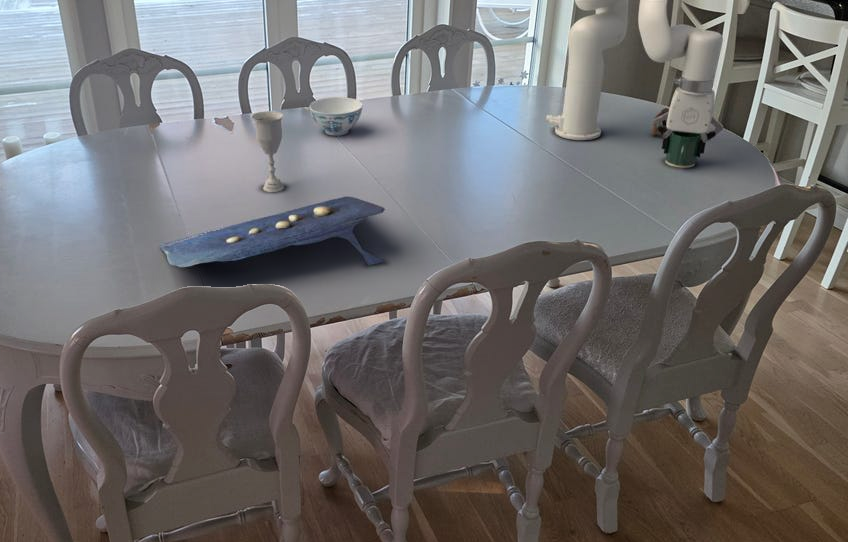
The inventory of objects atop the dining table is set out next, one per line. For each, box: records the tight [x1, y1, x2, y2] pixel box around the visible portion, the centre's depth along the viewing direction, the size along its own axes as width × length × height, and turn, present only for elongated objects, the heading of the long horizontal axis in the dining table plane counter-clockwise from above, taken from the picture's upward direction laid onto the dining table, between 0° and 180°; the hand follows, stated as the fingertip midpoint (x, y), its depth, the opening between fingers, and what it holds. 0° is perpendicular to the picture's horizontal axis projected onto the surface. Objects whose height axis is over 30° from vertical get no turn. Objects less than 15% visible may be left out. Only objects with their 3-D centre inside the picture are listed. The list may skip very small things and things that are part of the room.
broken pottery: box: [651, 107, 670, 137], centre depth 218 cm, size 12×10×8 cm
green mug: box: [665, 131, 701, 169], centre depth 198 cm, size 10×7×8 cm
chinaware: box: [309, 96, 364, 137], centre depth 223 cm, size 15×15×8 cm
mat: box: [158, 195, 386, 268], centre depth 163 cm, size 45×27×12 cm, turn 114°
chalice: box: [251, 110, 285, 193], centre depth 187 cm, size 7×7×18 cm
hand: (681, 153), depth 200 cm, fingers closed on green mug, 7 cm apart
